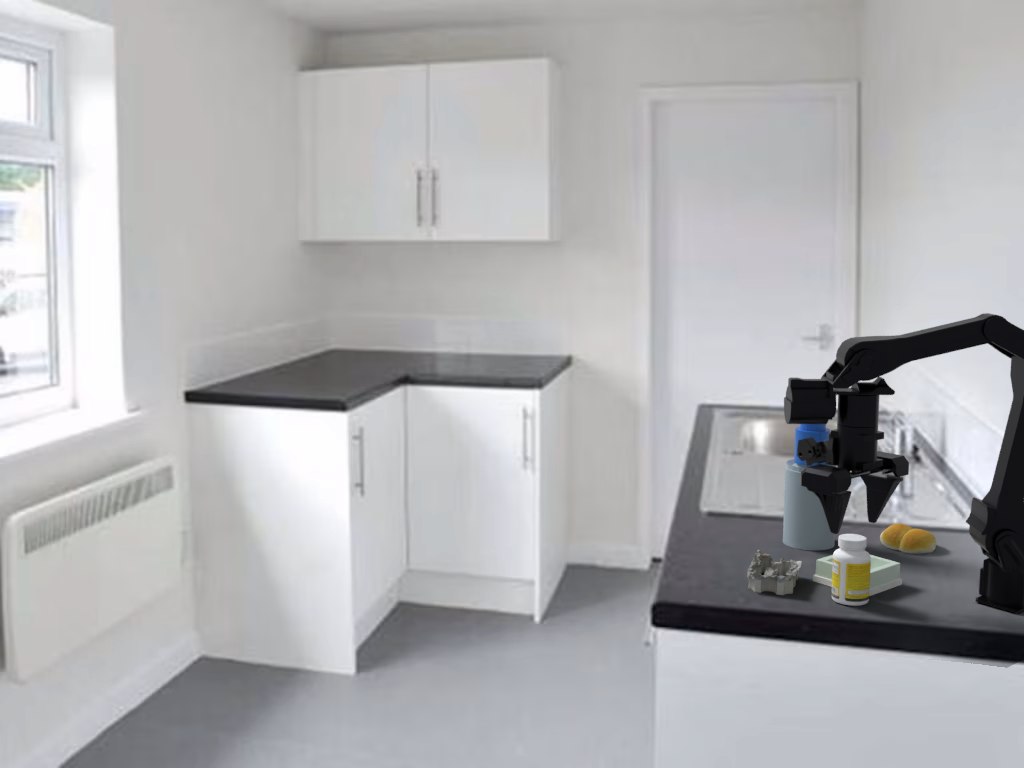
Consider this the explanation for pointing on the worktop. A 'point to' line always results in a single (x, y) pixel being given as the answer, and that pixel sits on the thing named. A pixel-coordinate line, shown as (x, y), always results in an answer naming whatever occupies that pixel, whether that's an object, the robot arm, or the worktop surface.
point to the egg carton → (772, 574)
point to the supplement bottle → (851, 571)
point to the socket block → (881, 573)
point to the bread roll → (908, 539)
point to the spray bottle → (805, 500)
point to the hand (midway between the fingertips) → (853, 527)
